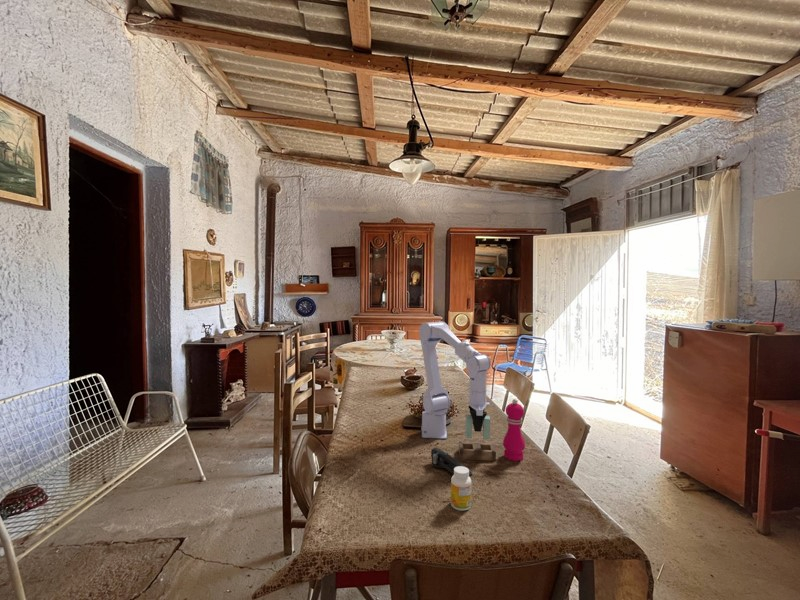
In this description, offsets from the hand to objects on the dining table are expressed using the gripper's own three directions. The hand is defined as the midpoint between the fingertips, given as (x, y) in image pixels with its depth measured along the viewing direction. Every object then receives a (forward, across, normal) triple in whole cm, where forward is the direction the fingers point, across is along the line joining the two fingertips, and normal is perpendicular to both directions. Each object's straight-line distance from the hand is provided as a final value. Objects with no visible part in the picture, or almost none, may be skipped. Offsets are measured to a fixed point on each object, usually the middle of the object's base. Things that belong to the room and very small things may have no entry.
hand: (477, 429), depth 129 cm
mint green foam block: (+3, 0, 0) cm, 3 cm away
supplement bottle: (+9, -30, +7) cm, 32 cm away
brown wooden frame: (+9, 0, 0) cm, 9 cm away
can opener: (+10, -12, +9) cm, 18 cm away
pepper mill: (+9, 0, -12) cm, 16 cm away
